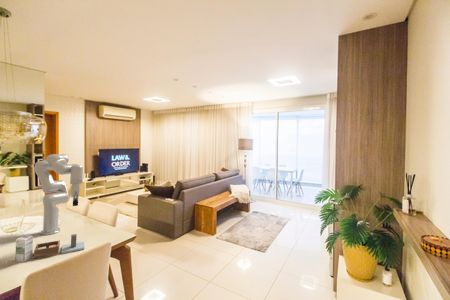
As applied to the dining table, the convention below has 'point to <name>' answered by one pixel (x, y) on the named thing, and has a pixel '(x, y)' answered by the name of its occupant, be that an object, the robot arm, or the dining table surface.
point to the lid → (73, 245)
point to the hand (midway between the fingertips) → (75, 204)
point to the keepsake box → (46, 249)
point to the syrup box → (24, 248)
